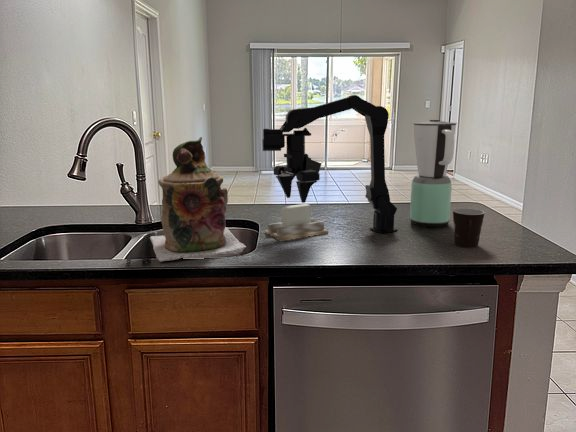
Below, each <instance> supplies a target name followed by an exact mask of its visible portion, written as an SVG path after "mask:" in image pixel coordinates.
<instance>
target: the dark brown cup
mask: <svg viewBox="0 0 576 432" xmlns="http://www.w3.org/2000/svg"><path fill="white" fill-rule="evenodd" d="M484 217H485V211H483V210H481V209H476V208H469V207H468V208H466V207H465V208H462V207H461V208H456V209H453V210H452V219H453V220H452V221H453V235H454V238H453V239H454V245H455V246H457V247H459V248H464V249H465V248H466V249H474V248H477V247H478V246H479V243H480V236H481V233H482V227H483V224H484V223H483V222H484Z"/></svg>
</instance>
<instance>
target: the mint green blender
mask: <svg viewBox="0 0 576 432" xmlns="http://www.w3.org/2000/svg"><path fill="white" fill-rule="evenodd" d="M456 127H457V122H448V121H444V120H443V121H442V120H441V119H429V120H426V121H420V122H419V121H418V122H414V123H413V134H414V135H413V137H414V145H415V155H416V164H417V166H416V167H417V174H416V175H415V176H414V177H413V179H412V181H411V190H410V204H409V205H410V207H409V209H410V210H409V221H410V223H411V224H414V225H418V226H420V227H421V229H422V230H423V229H424V230H426V229H428V227H442V228H448V227H449V223H450V220H451V219H450V218H451V204H452V202H451V201H452V180H451V179H450V177H449V176H448V175H447V172H448V166H449V165H450V163H451V162H452V161H453V159H454V152H455V151H454V150H455V134H456V129H457V128H456Z"/></svg>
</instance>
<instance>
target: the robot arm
mask: <svg viewBox="0 0 576 432" xmlns="http://www.w3.org/2000/svg"><path fill="white" fill-rule="evenodd" d="M348 110H349V111H350V110H354V111H355V112H356V113H358V114H359V115H361V116H362V117H364V118H365V123H366V127H367V130H368V134H369V137H370V138H369V142H370V143H369V144H370V175H371V176H370V177H371V179H370V182H369V184H365V186H364V187H365V196H364V197H365V198H366V199H367V201H368V203H369V204H370V205H371V206H372V208H373V210H374V211H373V217H372V218H373V220H372V221H373V225H372V226H373V227H370V228H369V230H370V231H371V230H372V231H373V232H377V233H380V234H387V233H393V232H397V231H398V228H395V226H394V225H395V215H396V213H397V210H398V207H396V206H395V204H393V203H392V201H391V197H390V192H389V191H390V190H389V189H388V185H387V182H386V171H385V169H386V168H385V167H386V164H385V162H386V160H385V135H386V131H387V128H388V123H389V115H390V114H389V110H388V109H387V108H386V107H384V106H380V105H378V106H377V105H374V104H373V103H371V102H369V101H367V100H365V99H363V98H361V97H360V96H359V95H357V94H351V95H348V96H347V97H343V98H339V99H336V100H334V101H330V102H327V103H324V104H320V105H316V106H311V107H304V108H294V109H293V108H292V109H290V110H289V111H287V113H286V115H285V121H284V122H283V124H282V125H281V127H280V128H274V129H273V128H263V129H262V141H261V142H262V144H261V145H262V152H281V151H282V149H284V148H285V146H286V153H283V157H284V158H286V164H284V165H283V164H281V165H275V166H274V168H273V175H275V178H276V179H277V181H278V184H279V185H280V186H281V188H282V191H283V193H284V194H285V195H284V196H285V197H286V198H287V199H289V198H290V199H291V194H292V183H293V180H294V178H295V177H296V178H295V179H296V181H295V182H296V187H297V190H298V195H299V197H300V201H301V203H302V204H306V202H307V199H308V196H309V192H310V189H311V187H312V186H313V185H314V184H316V183H318V181H320V179H321V178H320V175H321V174H320V170H321V168H322V167H321V166H322V162H318V161H316V160H313V159H312V157H309V154H308V153H306V137H311V136H312V133H311V132H310V131H309V130H308V129H307V127H305V126H307V125H309V124H311V123H313V122H315V121H317V120H319V119H323V118H325V117H328V116H332V115H336V114H339V113H341V112H345V111H348ZM303 127H304V128H303ZM301 128H303V129H302V130H301ZM294 129H295V130H294ZM297 129H298V130H297ZM299 129H300V130H299ZM291 131H292V133H290V132H291ZM285 137H286V138H285ZM285 139H286V140H285Z"/></svg>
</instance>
